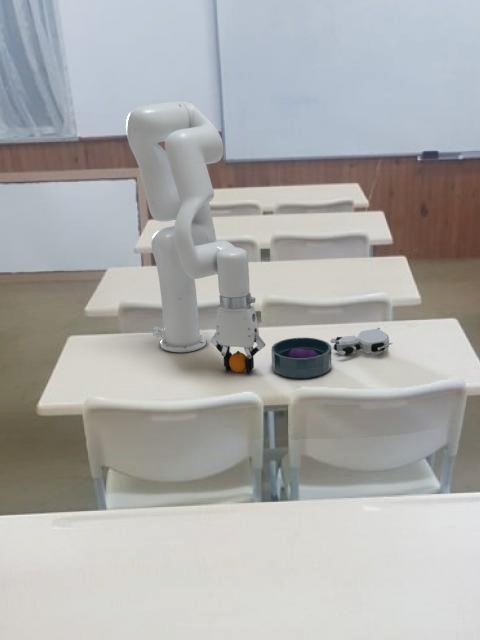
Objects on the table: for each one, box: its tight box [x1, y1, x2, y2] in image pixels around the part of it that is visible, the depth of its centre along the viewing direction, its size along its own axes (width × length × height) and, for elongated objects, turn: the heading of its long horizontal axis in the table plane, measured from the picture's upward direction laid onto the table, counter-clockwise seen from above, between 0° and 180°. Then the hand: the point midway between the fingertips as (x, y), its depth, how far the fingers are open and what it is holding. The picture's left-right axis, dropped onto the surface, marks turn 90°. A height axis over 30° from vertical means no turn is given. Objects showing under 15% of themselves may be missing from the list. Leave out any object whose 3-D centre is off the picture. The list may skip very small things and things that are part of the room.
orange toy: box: [229, 350, 247, 373], centre depth 216 cm, size 5×5×6 cm
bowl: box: [271, 337, 332, 380], centre depth 217 cm, size 15×15×6 cm
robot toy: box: [330, 327, 393, 357], centre depth 226 cm, size 12×4×15 cm
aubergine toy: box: [288, 349, 319, 358], centre depth 218 cm, size 9×4×4 cm, turn 72°
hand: (239, 369), depth 218 cm, fingers closed on orange toy, 4 cm apart
